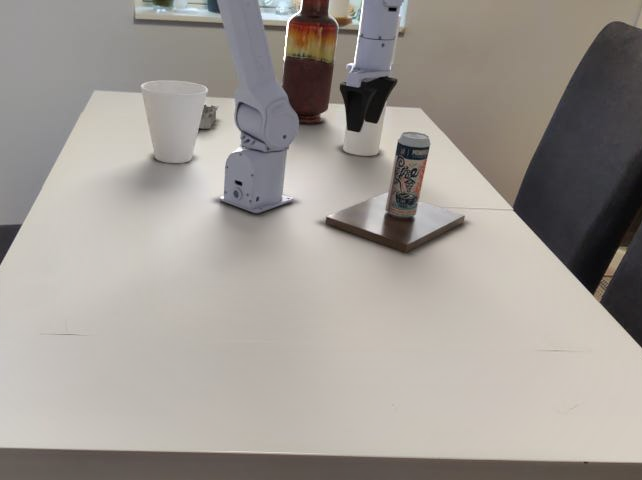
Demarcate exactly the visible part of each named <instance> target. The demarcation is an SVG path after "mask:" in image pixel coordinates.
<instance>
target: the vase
mask: <svg viewBox="0 0 642 480" xmlns="http://www.w3.org/2000/svg"><path fill="white" fill-rule="evenodd" d="M330 1H331V0H301V3H300V10H299V11H298V12H297V13H295V14H293V15H292V16H291V17H289V19H288V21H287V23H286V24H287V25H286V35H285V43H284V44H285V46H284V56H283V66H282V77H281V78H282V79H281V87H282V88H283V90H284V91H285V93H286V94H287V96H288V100H289V104H290V106H291V107H292V109H293V110H294V111H295V112H296V114H297V116H298V119H299V124H304V125H305V124H306V125H315V124H319V123H322V122H323V116H322V114H323V113H325V112H327V111H328V110H329V104H330V99H331V98H330V97H331V90H332V82H333V74H334V68H335V59H336V53H337V52H336V51H337V43H338V36H339V35H338V34H339V23H338V22H337V20H336V18H335V17H333V16H332V15H331V14H330V13H329V12H330V11H329V10H330Z"/></svg>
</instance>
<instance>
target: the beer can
mask: <svg viewBox="0 0 642 480" xmlns="http://www.w3.org/2000/svg"><path fill="white" fill-rule="evenodd" d="M431 144H432V143H431V140H430V136H428V135H427V134H425V133H423V132H422V133H421V132H416V131H405V132H402V133H401V135H400V137H399V138H398V139H397V144H396V148H395V154H394V160H393V165H392V171H391V176H390V181H389V187H388V191H387V192H388V198H387V203H386V208H385V210H386V212H388V213H389V214H390V215H391V216H393V217H397V218H410V217H412V216H414V215H416V211H417V206H418V201H420V195H421V190H422V185H423V181H424V176H425V172H426V168H427V167H426V166H427V162H428V157H429V152H430V146H431Z"/></svg>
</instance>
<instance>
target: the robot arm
mask: <svg viewBox="0 0 642 480" xmlns="http://www.w3.org/2000/svg"><path fill="white" fill-rule="evenodd" d="M404 2H405V0H362V4H361V12H360V19H359V27H358V33H357V40H356V47H355V53H354V62H351V63H347V64H346V69H347V70H349V71H348V72H347V77H346V81H343V82H340V83H339V92H340V94H341V97H342V101H343V104H344V110H345V123H346V124H347V130H348V131H353V132H360V131H361V129H362V126H363V123H364V120H365V122H369V123H374V124H377V123H378V121H379V119H380V116H381V113H382V111H383V108H384V106H385V103H386V101H387V102H388V98H389V97H390V95H391V93H392V91H393V90H394V89H395V87H396V85H397V84H398V78H396V77H392V75H393V69H392V68H394V63H391V59H392V53H393V47H394V42H395V36H396V30H397V24H398V18H399V15H400V11H401V7H402V5H403V3H404ZM216 3H217V6H218V10H219V14H220V18H221V22H222V26H223V29H224V33H225V37H226V40H227V44H228V48H229V51H230V55H231V60H232V64H233V66H234V71H235V74H236V78H237V83H238V87H237V88H236V90H235V91H234V93H233V98H234V103H235V108H234V115H233V119H234V120H233V121H234V124H235V126H236V128H237V130H238V131H239V132H240V137H239V139H240V144H239V146H238V148H237V149H235V150H234V151H232V152H231V153H230V154H229V155H228V157H227V158H226V161H225V166H224V167H225V168H224V181H223V182H224V183H223V195H222V196H219V201H221V202H224V203H225V204H228V205H232V206H234V207H237V208H239V209H241V210H245V211H247V212H249V213H250V212H251V213H253V214H260V213H263V212H266V211H269V210H271V209H274V208H277V207H280V206H284V205H286V204H288V203H291V202H293V201H294V197H292V196H289V195H286V194H284V184H285V182H284V181H285V175H286V165H287V163H286V162H287V153H288V151H289V149H290V145H292V143H293V142H294V141H295V139H296V137H297V135H298V133H299V130H300V123H299V119H298V116H297V114H296V112H295V111H294V110H293V109H292V107H291V106H290V104H289V100H288V96H287V94H286V93H285V91H284V90H283V88H282V84H280V83H279V81H278V80H277V78H276V73H275V70H274V65H273V60H272V57H271V52H270V47H269V43H268V38H267V34H266V30H265V25H264V21H263V16H262V12H261V7H260V3H259V0H216ZM391 74H392V75H391ZM390 75H391V77H388V76H390Z"/></svg>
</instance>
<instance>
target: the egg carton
mask: <svg viewBox="0 0 642 480" xmlns="http://www.w3.org/2000/svg"><path fill="white" fill-rule="evenodd" d="M218 109H219V105H216V106H215V105H210V106H208V105H207V104H206V103H204V108H203V112H202V117H201V121H200V125H199V129H202V130H204V129H205V130H206V129H212V126H213V125H214V122H216V119H217V111H218Z"/></svg>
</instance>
